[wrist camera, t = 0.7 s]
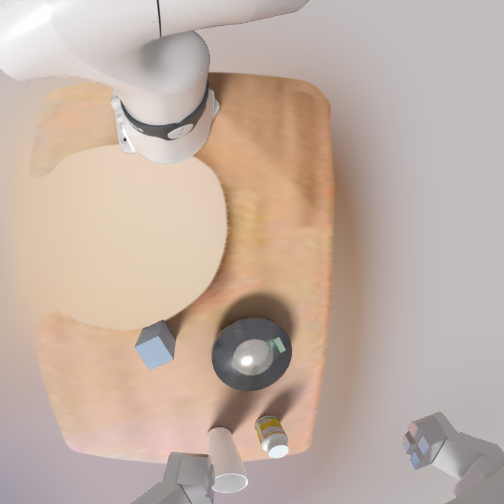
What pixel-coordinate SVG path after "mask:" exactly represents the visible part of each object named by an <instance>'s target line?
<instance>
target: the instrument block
mask: <svg viewBox="0 0 504 504" xmlns="http://www.w3.org/2000/svg"><path fill="white" fill-rule="evenodd" d="M175 342H176V340H175V338H174V337H173V335H172V333H171V332H170V330H169V328H168V327H167V325H166V323H165V322H164V320H161V321H159V322H157V323H155V324H153V325H151V326H149V327H147V328H145V329H143V330H142V332H141V334H140V336H139V338H138V341H137V343H136V345H135V349H136V351H137V352H138V354H139V355H140V357H141V358H142V360H143V361H144V363H145V364H146V365H147V367H148V368H149V370H152V369H154V368H156V367H158V366H160V365H163V364H165V363H167V362H169V361H171V360H173V359H174V351H175Z"/></svg>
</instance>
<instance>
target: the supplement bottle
mask: <svg viewBox="0 0 504 504" xmlns="http://www.w3.org/2000/svg"><path fill="white" fill-rule="evenodd" d="M255 429H256V432H257V435H258V437H259V440H260V443H261V445H262V448H263V449H264V450H265V451H267V452H268V454H269V456H270V457H272V458H280V457H283V456H285V455H286V454H287V453H288V451H289V448H288V445H287V443H288V438H287V436H286V434H285V432H284V430H283V428H282V426H281V424H280V422H279V421H278V419H277V418H276V417H274V416H270V415H268V416H264V417H261V418H260V419H258V420H257V422H256V424H255Z"/></svg>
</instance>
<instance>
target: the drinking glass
mask: <svg viewBox="0 0 504 504" xmlns="http://www.w3.org/2000/svg"><path fill="white" fill-rule="evenodd" d="M207 447H208V454H210V457H211V464H213V465H214V469H215V484H214V485H213V486H212V488H213V489H214V490H215V491H218V492H221V493H233V492H237V491H240V490H242V489H243V488H245V487H246V485H247V484H248V478H247V474H246V470H245V467H244V464H243V462H242V459H241V457H240V455H239V452H238V450H237V448H236V445H235V443H234V440H233V437H232V434H231V432H230V431H229V430H228V429H226V428H223V427H216V428H213V429H211V430H210V431H209V432H208V434H207Z"/></svg>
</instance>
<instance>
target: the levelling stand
mask: <svg viewBox="0 0 504 504" xmlns="http://www.w3.org/2000/svg"><path fill="white" fill-rule="evenodd" d="M211 355H212V363H213V367H214V370H215V372H216V374H217V376H218V377H219V378H220V379H221V380H222V381H223V382H224V383H225V384H226V385H228V386H230V387H232V388H235V389H238V390H243V391H253V390H259V389H262V388H265V387H267V386H270V385H271V384H273V383H274V382H276V381H277V380H278V379H279V378H280V377H281V376H282V375H283V374H284V373H285V371H286V370H287V368H288V366H289V364H290V361H291V356H292V346H291V342H290V340H289V337H288V336H287V334H286V333H285V331H284V330H283V329H282V328H281V327H280V326H279V325H278V324H276V323H275V322H273V321H271V320H269V319H266V318H263V317H245V318H241V319H238V320H236V321H234V322H232V323H230V324H229V325H227V326H226V327H225V328H224V329H222V330H221V331H220V332H219V333H218V336H217V337H216V339H215V341H214V344H213V347H212V354H211Z"/></svg>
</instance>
